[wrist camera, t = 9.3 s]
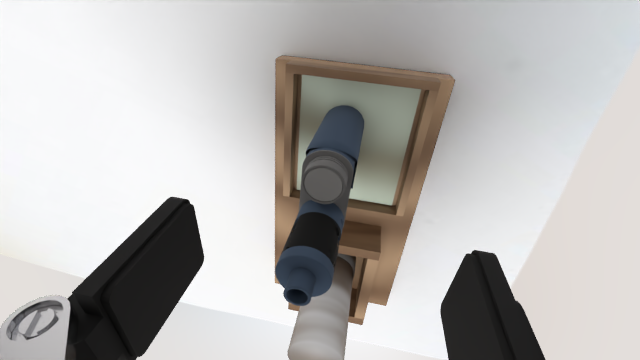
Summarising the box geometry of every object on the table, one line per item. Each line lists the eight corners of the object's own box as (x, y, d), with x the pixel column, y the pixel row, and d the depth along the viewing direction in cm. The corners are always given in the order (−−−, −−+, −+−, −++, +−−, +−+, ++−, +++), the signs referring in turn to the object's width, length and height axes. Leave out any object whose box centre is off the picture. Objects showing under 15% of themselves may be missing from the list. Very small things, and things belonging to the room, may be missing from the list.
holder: (282, 55, 20) (202, 95, 11) (450, 75, 19) (510, 137, 10) (279, 271, 31) (237, 379, 22) (385, 292, 30) (387, 416, 21)
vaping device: (320, 169, 22) (263, 309, 12) (328, 98, 19) (264, 202, 9) (354, 175, 22) (326, 324, 12) (368, 105, 19) (347, 219, 9)
